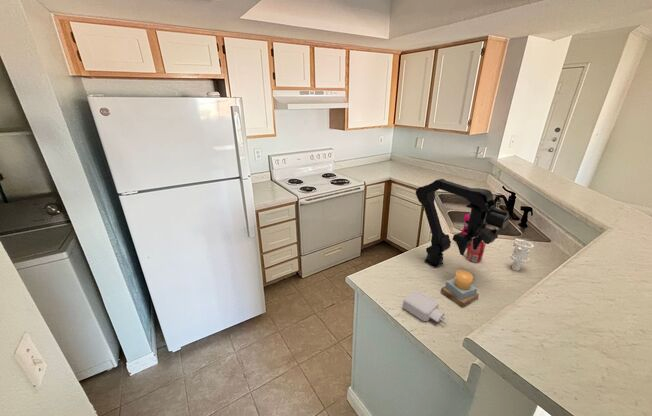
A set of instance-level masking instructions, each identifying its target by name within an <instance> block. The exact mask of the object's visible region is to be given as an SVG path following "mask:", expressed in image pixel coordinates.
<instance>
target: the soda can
mask: <svg viewBox="0 0 652 416" xmlns="http://www.w3.org/2000/svg"><path fill="white" fill-rule="evenodd" d="M486 245H487V244H486V243H484V241H482V242H481V243H480V245H479V246H478V248H477V249H476V250H474V249H473V238H472V242H471V245H469V246H468V248H466V252H465V254H466V255H465V257H466V259H467V260H469V262H473V263H478V262H481V261H482V259H483V255H484V252H485V248H486Z"/></svg>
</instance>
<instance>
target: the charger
mask: <svg viewBox="0 0 652 416" xmlns="http://www.w3.org/2000/svg"><path fill="white" fill-rule="evenodd" d="M439 305H440V304H439V302H438V301H437V300H436V299H434V298H432V297H430V296H428V295H426V294H425V293H423V292H421V291H419V290H418V289H415V290H413V291H412V292H410V294H408V295H407V296H406V297H405V298H404V299H403V302H402V308H403V309H404V310H405V311H407V312H409V313H410V314H412V315H413V316H415V317H416V318H418V319H420V320H421V321H423V322H428V321H429V320H431V319H432V320H433V321H435V322H437V323H439V322H441V321H442V322H444V323H447V321H449V318H447V317H446V316H445V315H446V313H445V312H443V311H442V310H440V309H439ZM444 319H446V320H447V321H446V320H444Z"/></svg>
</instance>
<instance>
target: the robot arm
mask: <svg viewBox="0 0 652 416" xmlns="http://www.w3.org/2000/svg"><path fill="white" fill-rule="evenodd" d="M439 190H441V191H444V192H446V193H450V194H453V195H456V196H459V197H461V198H464V199H465V200H466V201H467V202H469V204H466V205H465V207H466V208H468V209H470V212H469V214H470V216H469V220H466V223H468V224H467V228H466V229H464V232H466V233H467V235H465V234H463V233H460V232H458V233H456V234H453V235H452V241H454V242H455V243H456V246H457V249H458V251H459V254H460V256H462V257H463V256H464V255H465V254H466V251H467V246H469V245H471V242H472V238H473V249H474V250H476V249H477V248H478V246H479V245H480V243H481V242H482V241H484V243H486V245H489V244H491V243H493V242H494V241H495V240H496V239H497V238H498V236H499V230H498V229H497V228H500V229H506V227H507V226H508V223H509V221H510V215H509V214H510V212H509V211H507V210H504V209H503V210H502V209H499V208H498V206H497V204H496V202H495V200H494V198H493V197H494V195H493V193H492V191H491V190H489V189H487V188H480V187H479V188H478V187H469V186H464V185H462V184H458V183H456V182H453V181H449V180H446V179H444V178H438V179H436V180H434V181H432V182H431V183H429V184H425V185H423V186H419V187H417V188H416V191H415V195H416V199H417V200H418V202H419V203H420V204H421V205H422V206H423V209H424V213H425V216H426V219H427V223H428V225H429V229H430V232H431V240H430V242H431V244H430V245H429V246H428V247H426V248H425V250H426V253H427V255H426V259H424V260H423V261H424V263H426V264H428V265H429V266H431V267H433V268H437V267H439V266H441V265H444V262H443V260H444V252H445V251H448V249H450V248H451V244H452V241H451V239H450V235H449V234H445V233H444V231H443V228H442V225H441V222H440V218H439V215H438V212H437V208H436V205H435V198H436V195H435V193H436V192H437V191H439ZM487 225H491V226H493V227H496V228H493V229H491V228H489V227H487Z"/></svg>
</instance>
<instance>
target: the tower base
mask: <svg viewBox="0 0 652 416" xmlns="http://www.w3.org/2000/svg"><path fill="white" fill-rule="evenodd" d="M440 294H441V295H443V296H444V297H446V298H447V299H449V300H450V301H452V302H453V303H454V304H456V305H457V306H459V307H460V308H462V309H463V308H465V307H467V306H468V305H470V304H472V303H474V302H475V301H476V300H478V299H479V297H480V293H478V292H476V295H473V296H471V297H468V298H465V299H462V300H460V299H459V298H458V297H457V296H455V295H454V294H453V293H452V292H450V291H449V290H448V289H447V288H445V285H444V286H442V287H441V289H440Z"/></svg>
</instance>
